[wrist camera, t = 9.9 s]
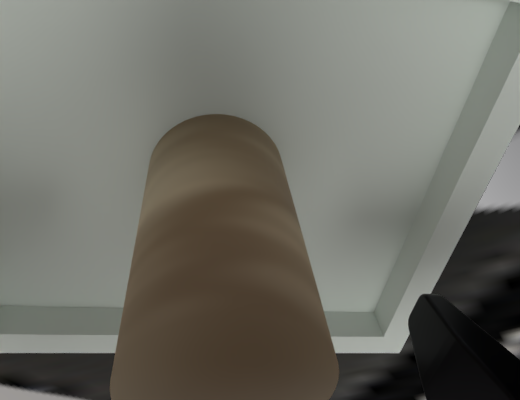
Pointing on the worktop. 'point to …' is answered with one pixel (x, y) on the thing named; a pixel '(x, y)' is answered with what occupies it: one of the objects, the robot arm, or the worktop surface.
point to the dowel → (221, 277)
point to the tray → (265, 117)
